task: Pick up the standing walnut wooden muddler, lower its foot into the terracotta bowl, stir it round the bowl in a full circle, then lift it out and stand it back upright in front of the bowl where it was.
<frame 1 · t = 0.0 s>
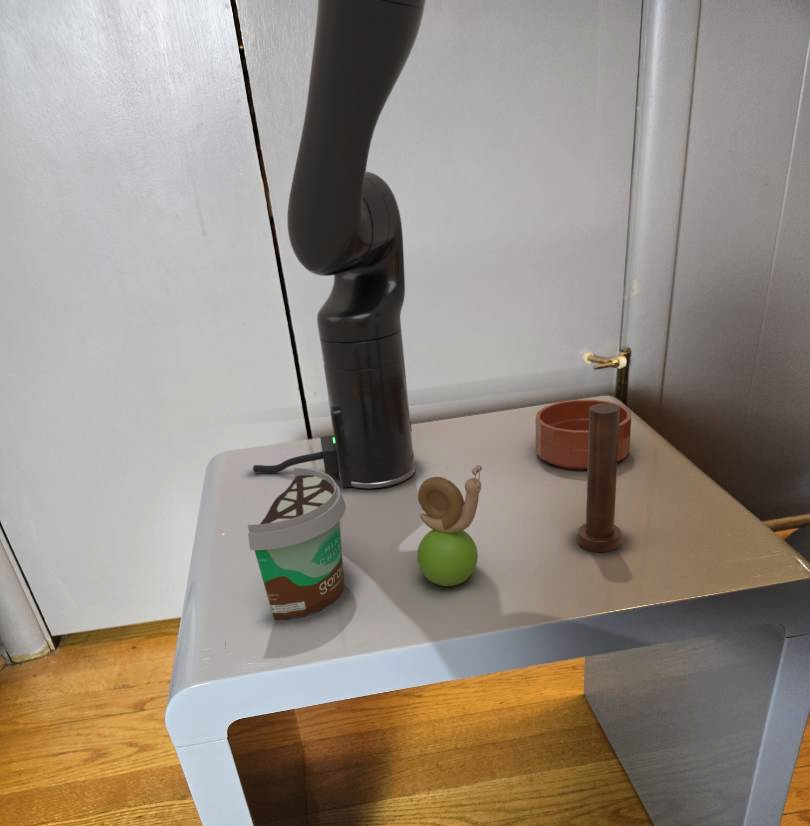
food container: (323, 593, 68), on the table
muddler: (599, 542, 71), on the table
bowl: (582, 453, 90), on the table
snail figurine: (454, 584, 68), on the table
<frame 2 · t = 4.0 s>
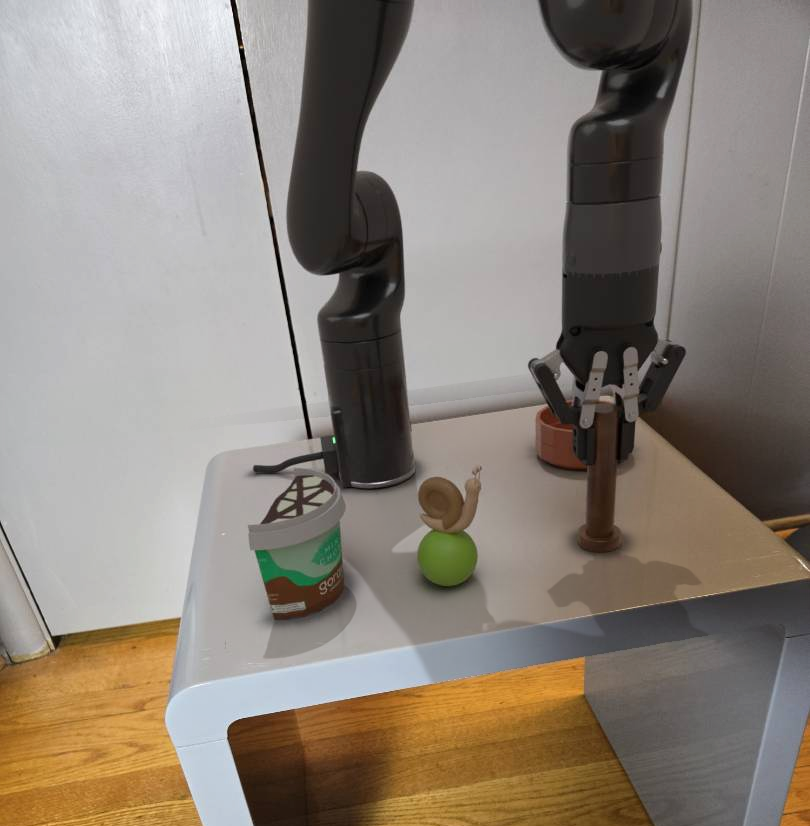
hand: (602, 459, 67), 9 cm above the table, tool pointing down, fingers closed on muddler, 2 cm apart
muddler: (599, 542, 71), on the table, touching gripper
everything else where it was.
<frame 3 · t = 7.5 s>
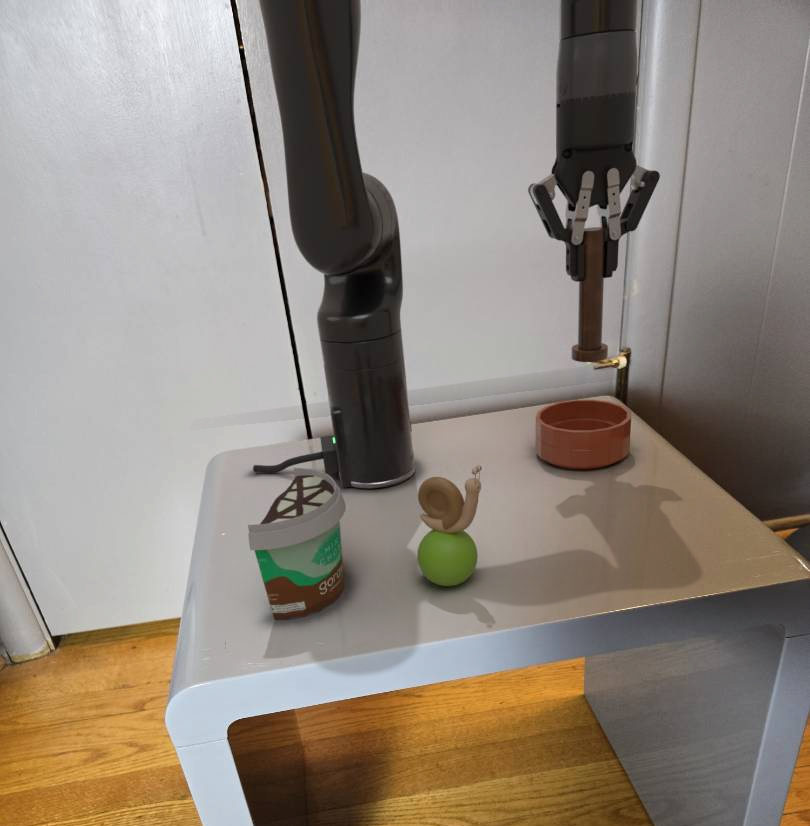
hand: (591, 277, 80), 21 cm above the table, tool pointing down, fingers closed on muddler, 2 cm apart
muddler: (589, 357, 84), point 12 cm above the table, touching gripper
everything else where it was.
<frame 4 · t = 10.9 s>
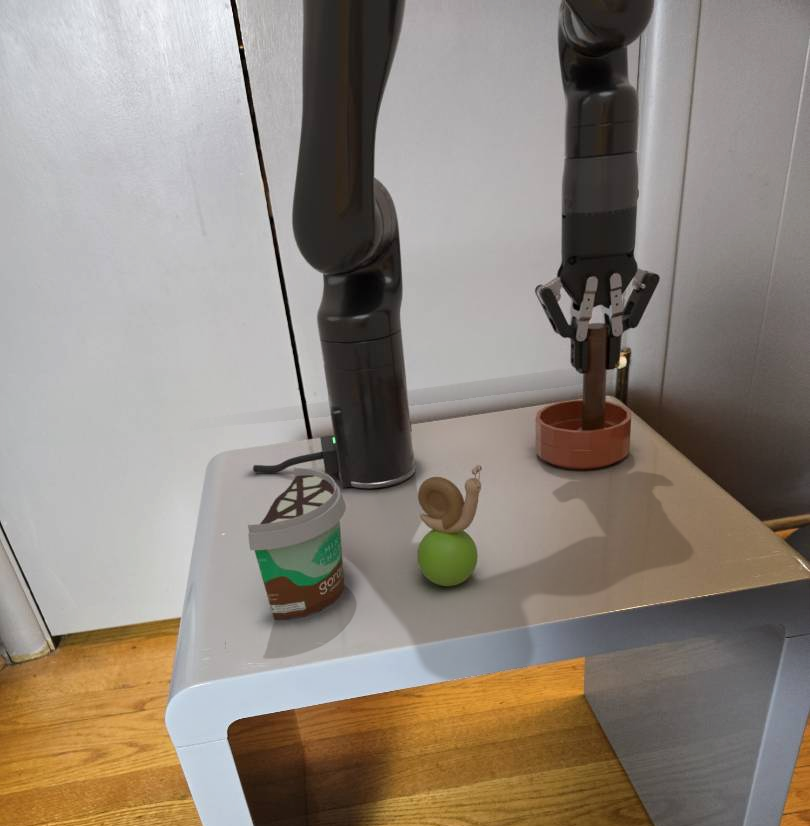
hand: (594, 369, 84), 11 cm above the table, tool pointing down, fingers closed on muddler, 2 cm apart
muddler: (592, 440, 88), point 2 cm above the table, touching gripper
everything else where it was.
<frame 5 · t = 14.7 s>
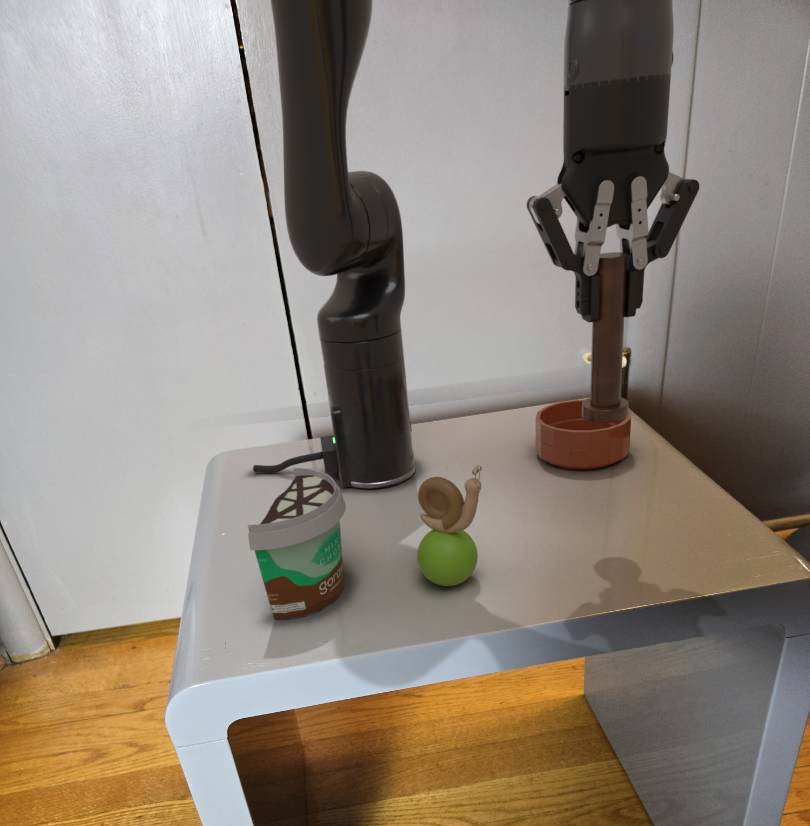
hand: (607, 316, 62), 21 cm above the table, tool pointing down, fingers closed on muddler, 2 cm apart
muddler: (604, 415, 66), point 13 cm above the table, touching gripper
everything else where it was.
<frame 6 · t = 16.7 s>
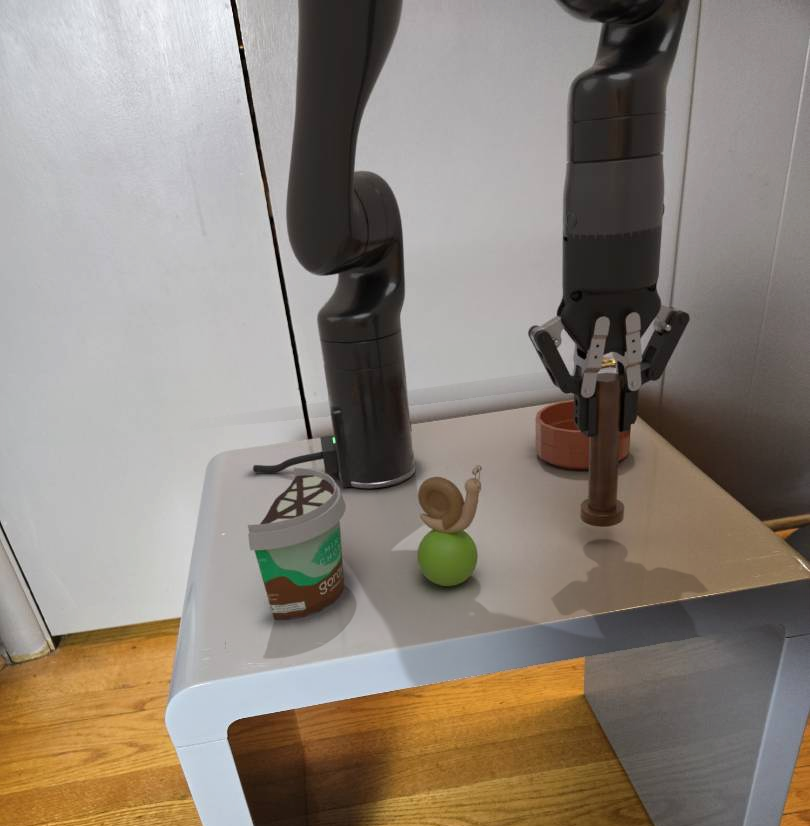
hand: (604, 430, 66), 11 cm above the table, tool pointing down, fingers closed on muddler, 2 cm apart
muddler: (601, 517, 70), point 3 cm above the table, touching gripper
everything else where it was.
when the fingers open (9 cm above the table, at t = 17.7 s): muddler stays where it is, on the table.
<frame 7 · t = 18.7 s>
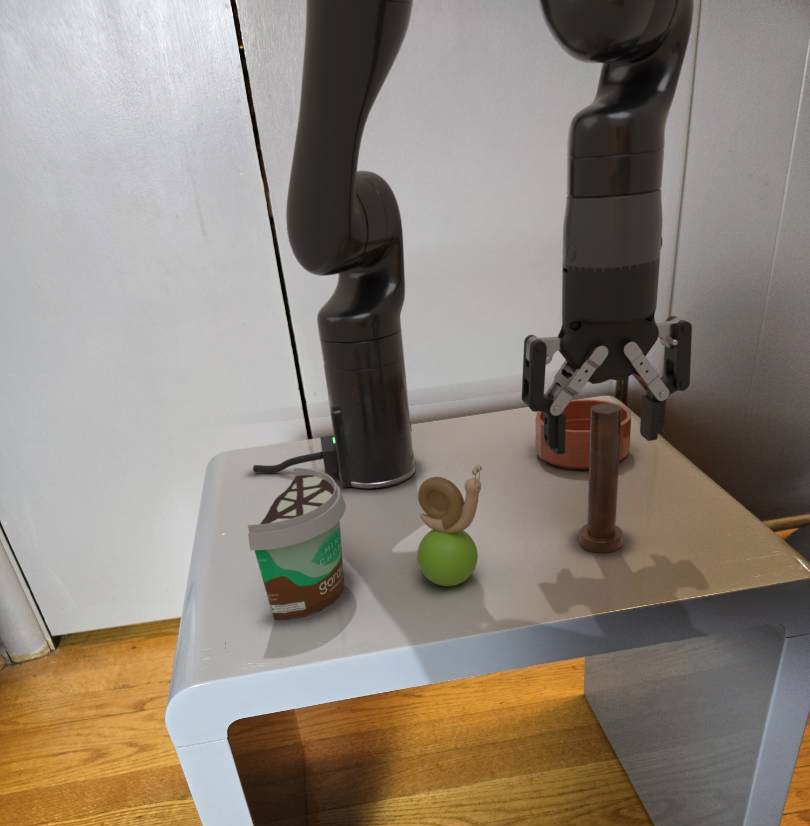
hand: (602, 444, 66), 10 cm above the table, tool pointing down, fingers open, 8 cm apart
muddler: (600, 542, 71), on the table
everything else where it was.
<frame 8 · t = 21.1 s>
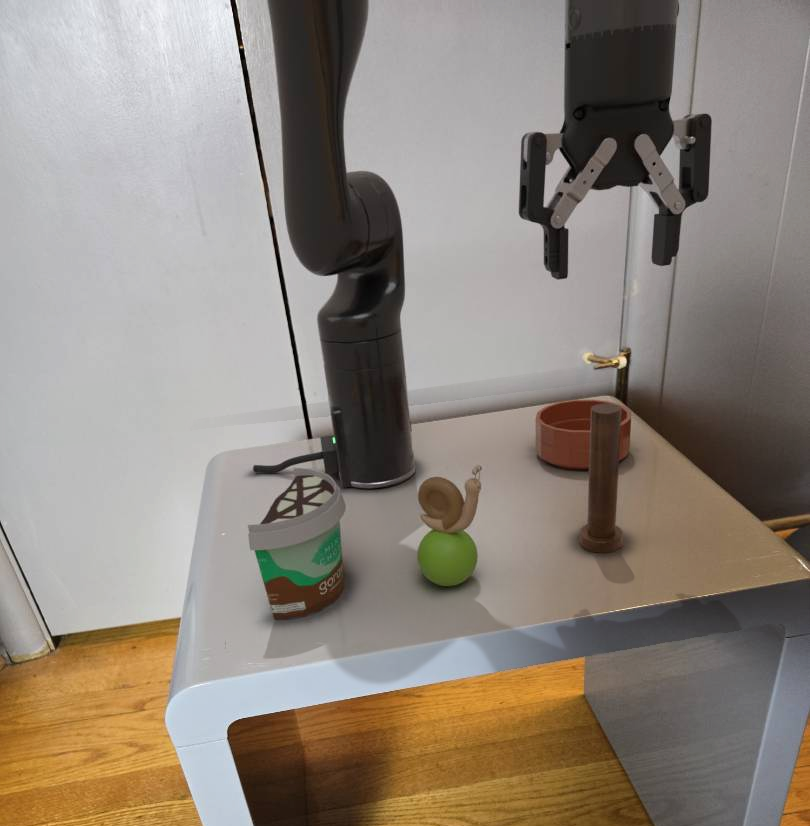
hand: (610, 271, 59), 25 cm above the table, tool pointing down, fingers open, 8 cm apart
nothing on the table moved.
at the end: muddler tilted 0°; muddler 0.1 cm from the target spot on the table beside the bowl, on the table; the gripper is holding nothing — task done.
